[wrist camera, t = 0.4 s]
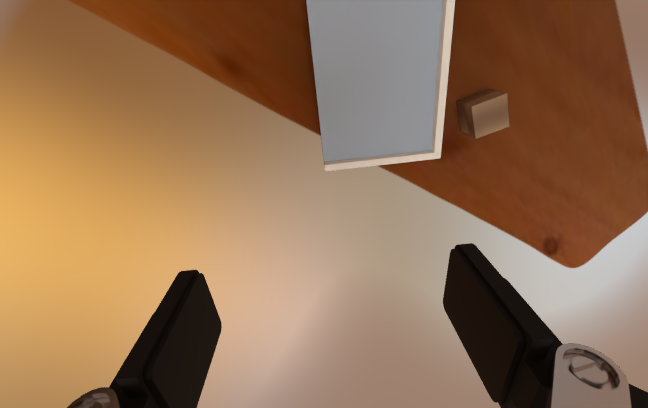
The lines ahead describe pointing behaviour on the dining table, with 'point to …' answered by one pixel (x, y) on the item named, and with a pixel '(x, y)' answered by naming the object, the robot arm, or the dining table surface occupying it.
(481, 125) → the light brown cube
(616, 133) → the dining table surface
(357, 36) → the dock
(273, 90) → the dining table surface
